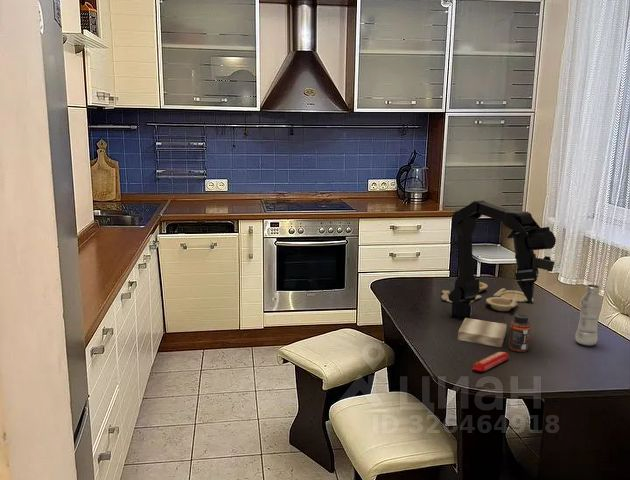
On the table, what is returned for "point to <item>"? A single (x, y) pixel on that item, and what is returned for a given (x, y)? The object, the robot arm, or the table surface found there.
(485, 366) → the candy bar
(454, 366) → the table surface
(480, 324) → the birch base block
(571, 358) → the table surface
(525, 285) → the robot arm
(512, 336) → the supplement bottle
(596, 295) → the plastic bottle
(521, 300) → the tableware set
